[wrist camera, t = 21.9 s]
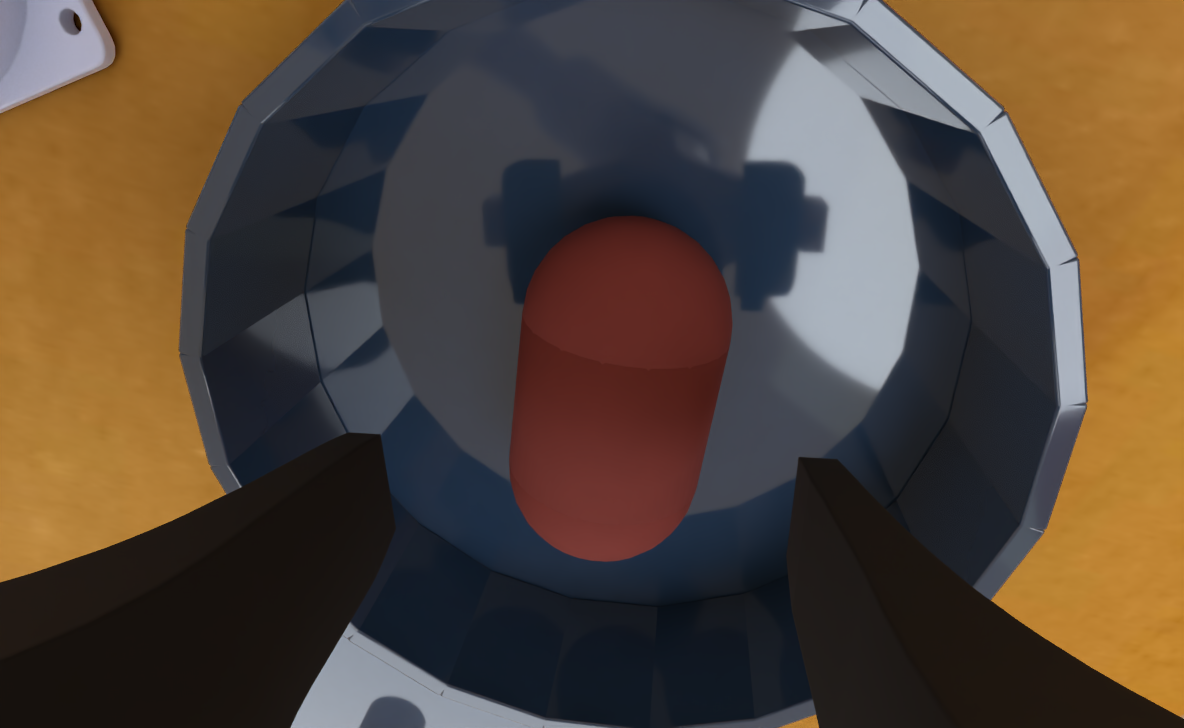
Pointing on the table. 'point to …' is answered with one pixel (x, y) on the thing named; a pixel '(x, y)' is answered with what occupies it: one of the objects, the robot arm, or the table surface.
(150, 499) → the table surface
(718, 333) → the sweet potato
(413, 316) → the dark blue bowl
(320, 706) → the lid
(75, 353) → the table surface
